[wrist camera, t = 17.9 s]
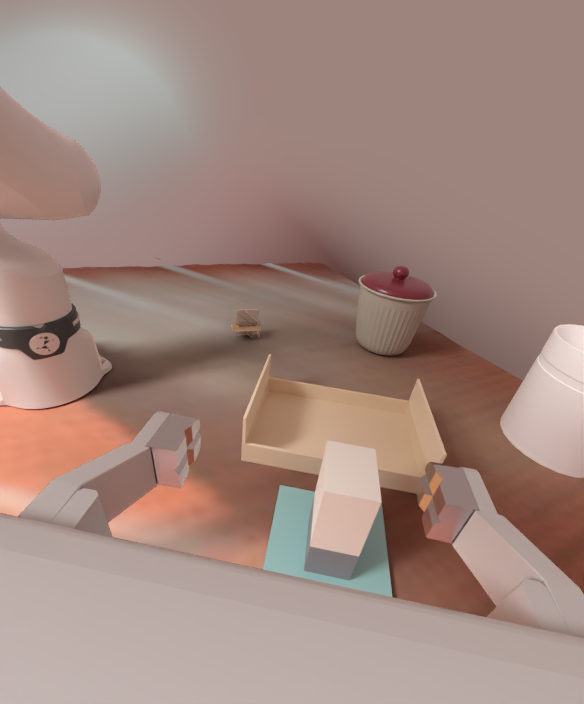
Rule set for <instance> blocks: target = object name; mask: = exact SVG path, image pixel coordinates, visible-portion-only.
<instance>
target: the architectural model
mask: <svg viewBox="0 0 584 704" xmlns="http://www.w3.org/2000/svg"><path fill="white" fill-rule="evenodd" d="M258 315H259V309H248V310H236V324H234V325H231V326H232V329H233V331H234V332H236V336H240V335H249V336H250V337H251V338H253V335H255V334H257V335H258V337H260V330H261V328H260V326H261V325H260V323H259V321H258Z"/></svg>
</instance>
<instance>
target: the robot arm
mask: <svg viewBox="0 0 584 704" xmlns="http://www.w3.org/2000/svg"><path fill="white" fill-rule="evenodd" d="M100 193H101V184H100V178H99V174H98V171H97V169H96V166H95V164H94V163H93V161H92V159H91V157H90V156H89V155H88V153H87V152H86V151H85V150H84V148H83V147H82V146H81V145H80V144H79V143H77V142H76V141H75V140H74V139H72V138H70V137H68V136H66V135H63V134H62V133H60V132H58V131H56V130H54V129H52V128H51V127H49V126H47V125H46V124H44V123H43V122H41V121H40V120H38V119H37V118H36V117H34V116H33V115H32V114H30V113H29V112H28V111H27V110H25V109H24V108H22V107H21V106H20V105H19V104H18V103H17V102H16V101H15V100H14V99H12V98H11V97H10V96H9V95H8V94H7V93H6V92H5V91H4V90H3V89H2V88H1V87H0V218H6V219H32V220H34V219H35V220H60V219H67V218H74V217H81V216H87V215H90V214H91V212H92V211H93V210H94V209H95V207H96V206H97V204H98V201H99V198H100ZM111 369H112V364H111V362H109V361H108V360H107V359H105V358H104V357H102V356H101V355H99V353H98V349H97V346H96V343H95V340H94V337H93V334H92V333H89V332H88V331H87V330H85V329H82V328H81V327H80V321H79V315H78V312H77V311H76V308H75V306H74V305H73V304H72V303H71V300H70V296H69V293H68V289H67V285H66V282H65V278H64V274H63V270H62V267H61V265H60V264H59V263H58V261H57V260H56V259H55V258H54V257H53V256H52V255H51V254H49V253H48V252H47V251H45V250H43V249H41V248H39V247H37V246H34V245H32V244H29V243H26V242H24V241H21V240H19V239H17V238H16V237H14V236H13V235H11V234H10V233H9V232H8V231H7V230H6V229H5V228H4V227H3V226H2V225H1V224H0V406H1V405H8V406H13V407H17V408H22V409H42V408H49V407H54V406H58V405H62V404H65V403H68V402H71V401H73V400H76V399H78V398H80V397H82V396H83V395H85V394H87V393H88V392H90V391H91V390H92V389H93V388H95V387H96V385H97V384H98V383H99V381H100V380H101V378H102V376H103V375H105V374H106V373H107V372H109V371H110V370H111ZM199 428H200V421H199V420H198V419H195V418H190V417H186V416H181V415H176V414H170V413H165V412H161V411H158V412H156V413H154V415H153V416H152V417H151V418H150V420H149V421H148V422H147V423H146V425H145V426H144V427H143V429H142V430H141V431H140V432H139V434H138V435H137V436H136V438H135V439H134V440H133V441H132V443H131V444H129V443H126V444H124V445H122V446H120V447H118V448H116V449H114V450H112V451H110V452H108V453H106V454H104V455H102V456H100V457H98V458H96V459H94V460H92V461H90V462H88V463H86V464H84V465H82V466H80V467H78V468H75V469H73V470H71V471H69V472H67V473H65V474H63V475H61V476H59V477H57V478H55V479H53V480H52V481H51V482H50V483H49V484H48V485H47V486H46V487H45V488H44V489H43V490H42V491H41V493H40V494H39V495H38V496H37V497H36V498H35V499H34V500H33V501H32V502H31V503H30V504H29V505H28V506H27V507H26V508H25V509H24V511H23V512H22V513H21V514H20V515H19V516H18V517H17V516H12V515H7V514H3V513H0V704H584V594H583V592H582V591H581V589H580V588H579V587H578V586H577V585H576V584H575V583H574V582H573V581H572V580H571V579H570V578H569V577H567V576H566V575H565V574H564V573H563V572H562V571H561V570H560V569H559V568H558V567H557V566H556V565H555V564H554V563H553V562H552V561H550V560H549V559H548V558H547V557H546V556H545V555H544V554H543V553H542V552H541V551H540V550H539V549H538V548H537V547H536V546H535V545H534V544H532V543H531V542H530V541H529V540H528V539H527V538H526V537H525V536H524V535H523V534H522V533H521V532H520V531H519V530H518V529H517V528H515V527H514V526H513V525H512V524H511V523H510V522H509V521H508V520H507V519H506V518H505V517H504V516H502V515H498V513H497V511H496V509H495V507H494V505H493V502H492V500H491V498H490V496H489V494H488V491H487V489H486V487H485V485H484V483H483V480H482V478H481V476H480V474H479V472H478V471H477V470H475V469H469V468H464V467H458V466H452V465H447V464H441V463H435V462H429V463H428V464H427V465H426V467H425V472H426V475H424V476H422V477H421V478H420V480H419V482H418V486H417V500H418V505H419V507H420V508H421V509H422V510H423V511H424V514H423V516H422V518H421V519H422V523H423V527H424V532H425V536H426V538H430V539H434V540H439V541H443V542H447V543H452V545H453V547H454V548H455V550H456V551H457V552H458V554H459V555H460V557H461V558H462V559H463V561H464V562H465V564H466V565H467V566H468V568H469V569H470V570H471V572H472V573H473V575H474V576H475V577H476V579H477V580H478V582H479V583H480V584H481V586H482V587H483V589H484V590H485V591H486V593H487V594H488V595H489V597H490V598H491V600H492V601H493V602H494V604H495V605H496V608H495V609H494V610H493V611H492V612H491V613H490V614H489V615H488V616H487V617H482V616H478V615H473V614H468V613H464V612H459V611H454V610H450V609H445V608H440V607H436V606H431V605H426V604H422V603H417V602H412V601H408V600H403V599H398V598H394V597H389V596H384V595H380V594H375V593H371V592H366V591H361V590H357V589H352V588H347V587H343V586H338V585H333V584H329V583H324V582H319V581H315V580H310V579H305V578H301V577H296V576H291V575H287V574H282V573H277V572H273V571H268V570H263V569H259V568H254V567H249V566H244V565H240V564H235V563H230V562H226V561H221V560H217V559H212V558H207V557H203V556H198V555H193V554H189V553H184V552H179V551H175V550H170V549H165V548H161V547H156V546H151V545H147V544H142V543H137V542H133V541H128V540H123V539H119V538H114V537H112V534H111V531H110V528H109V525H108V522H110V521H111V520H112V519H114V518H115V517H116V516H118V515H119V514H120V513H122V512H123V511H124V510H125V509H127V508H128V507H129V506H131V505H132V504H133V503H135V502H136V501H137V500H139V499H140V498H141V497H143V496H144V495H145V494H147V493H148V492H149V491H150V490H152V489H153V488H154V487H156V486H157V484H158V485H164V486H170V487H176V488H181V487H182V485H183V483H184V481H185V479H186V477H187V475H188V473H189V465H190V464H192V463H193V462H195V460H196V458H197V455H198V452H199V449H200V444H201V436H200V435H199V433H198V430H199Z"/></svg>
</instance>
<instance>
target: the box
mask: <svg viewBox="0 0 584 704" xmlns="http://www.w3.org/2000/svg"><path fill="white" fill-rule="evenodd" d="M381 503H382V501H381V492H380V484H379V475H378V466H377V457H376V449H372V448H367V447H361V446H356V445H350V444H345V443H339V442H334V441H329V440H327V443H326V447H325V451H324V456H323V460H322V464H321V469H320V473H319V477H318V482H317V486H316V490H315V495H314V499H313V503H312V508H311V512H310V516H309V523H308V533H307V543H306V553H305V563H304V571H307V572H312V573H316V574H321V575H326V576H330V577H335V578H340V579H344V580H349V579H350V577H351V575H352V572H353V570H354V567H355V565H356V563H357V560H358V558H359V555H360V553H361V551H362V548H363V546H364V543H365V541H366V539H367V536H368V534H369V531H370V529H371V527H372V524H373V522H374V519H375V517H376V515H377V512H378V510H379V507H380V505H381Z"/></svg>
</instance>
